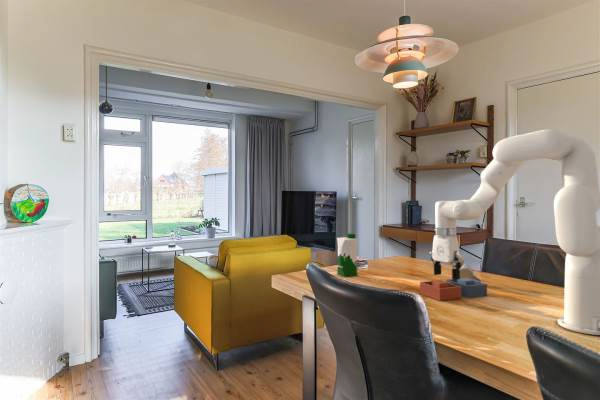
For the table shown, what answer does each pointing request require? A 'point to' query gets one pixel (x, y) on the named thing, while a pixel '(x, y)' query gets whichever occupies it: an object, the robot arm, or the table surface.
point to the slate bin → (471, 288)
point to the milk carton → (347, 255)
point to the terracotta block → (440, 284)
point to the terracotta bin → (440, 291)
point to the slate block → (465, 281)
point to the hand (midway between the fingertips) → (446, 276)
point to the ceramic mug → (468, 273)
